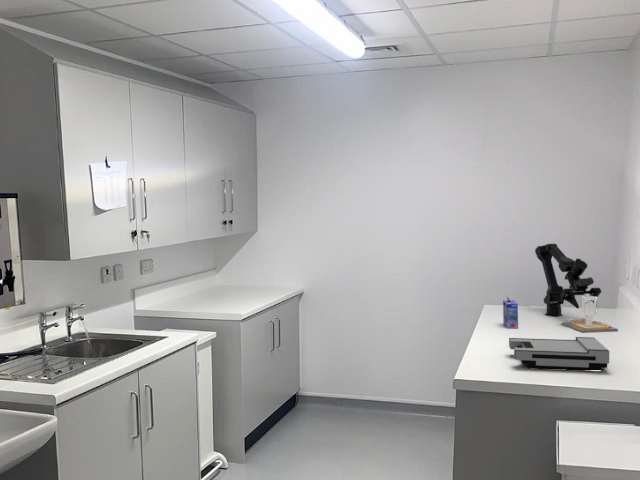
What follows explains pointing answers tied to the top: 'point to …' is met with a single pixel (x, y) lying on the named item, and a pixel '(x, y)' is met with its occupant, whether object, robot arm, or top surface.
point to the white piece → (588, 308)
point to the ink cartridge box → (510, 313)
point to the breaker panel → (580, 326)
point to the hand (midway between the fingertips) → (587, 307)
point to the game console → (561, 353)
